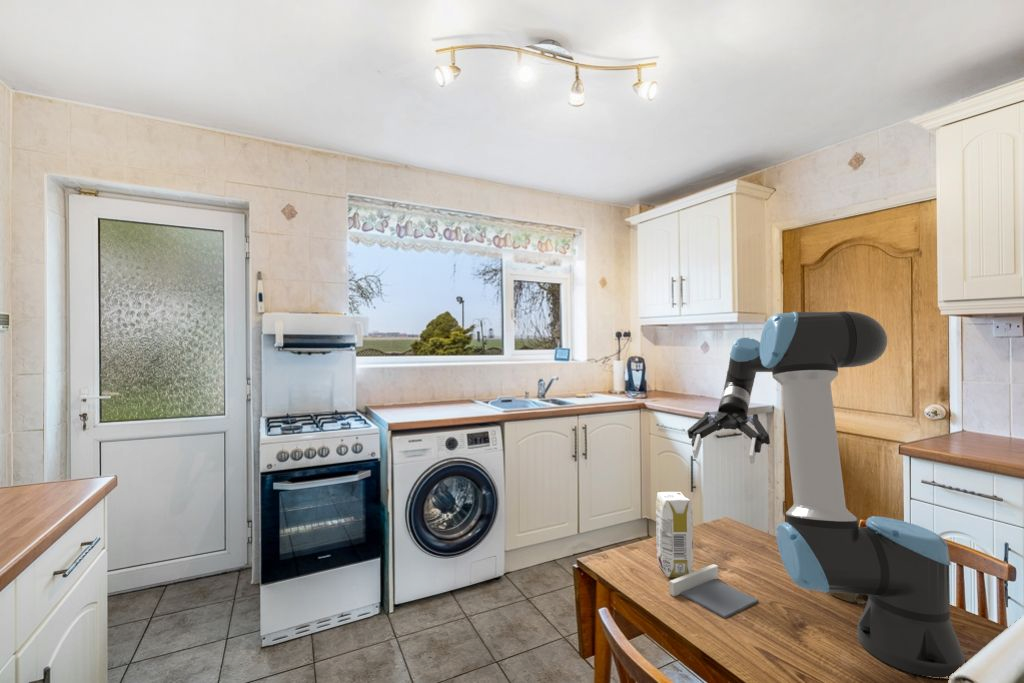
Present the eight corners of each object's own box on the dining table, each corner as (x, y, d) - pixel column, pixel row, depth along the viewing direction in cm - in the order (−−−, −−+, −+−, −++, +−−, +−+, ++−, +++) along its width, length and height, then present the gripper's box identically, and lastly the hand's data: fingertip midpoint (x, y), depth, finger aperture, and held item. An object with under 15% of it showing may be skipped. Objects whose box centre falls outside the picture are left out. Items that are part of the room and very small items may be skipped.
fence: (718, 578, 115) (717, 565, 115) (673, 596, 107) (673, 583, 107) (713, 576, 116) (713, 563, 116) (669, 594, 108) (669, 581, 108)
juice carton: (665, 579, 115) (664, 501, 115) (654, 563, 123) (653, 490, 123) (696, 579, 115) (695, 501, 115) (683, 563, 123) (682, 490, 124)
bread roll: (842, 619, 104) (856, 594, 101) (806, 579, 113) (818, 555, 110) (877, 613, 106) (892, 588, 103) (839, 574, 115) (852, 550, 112)
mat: (758, 601, 104) (758, 599, 104) (724, 618, 98) (724, 616, 98) (714, 581, 114) (714, 578, 114) (681, 594, 108) (681, 592, 108)
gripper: (785, 417, 130) (779, 473, 115) (691, 413, 145) (675, 462, 130) (782, 396, 127) (775, 449, 112) (687, 394, 142) (670, 441, 127)
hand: (722, 456), depth 121 cm, fingers open, 13 cm apart
